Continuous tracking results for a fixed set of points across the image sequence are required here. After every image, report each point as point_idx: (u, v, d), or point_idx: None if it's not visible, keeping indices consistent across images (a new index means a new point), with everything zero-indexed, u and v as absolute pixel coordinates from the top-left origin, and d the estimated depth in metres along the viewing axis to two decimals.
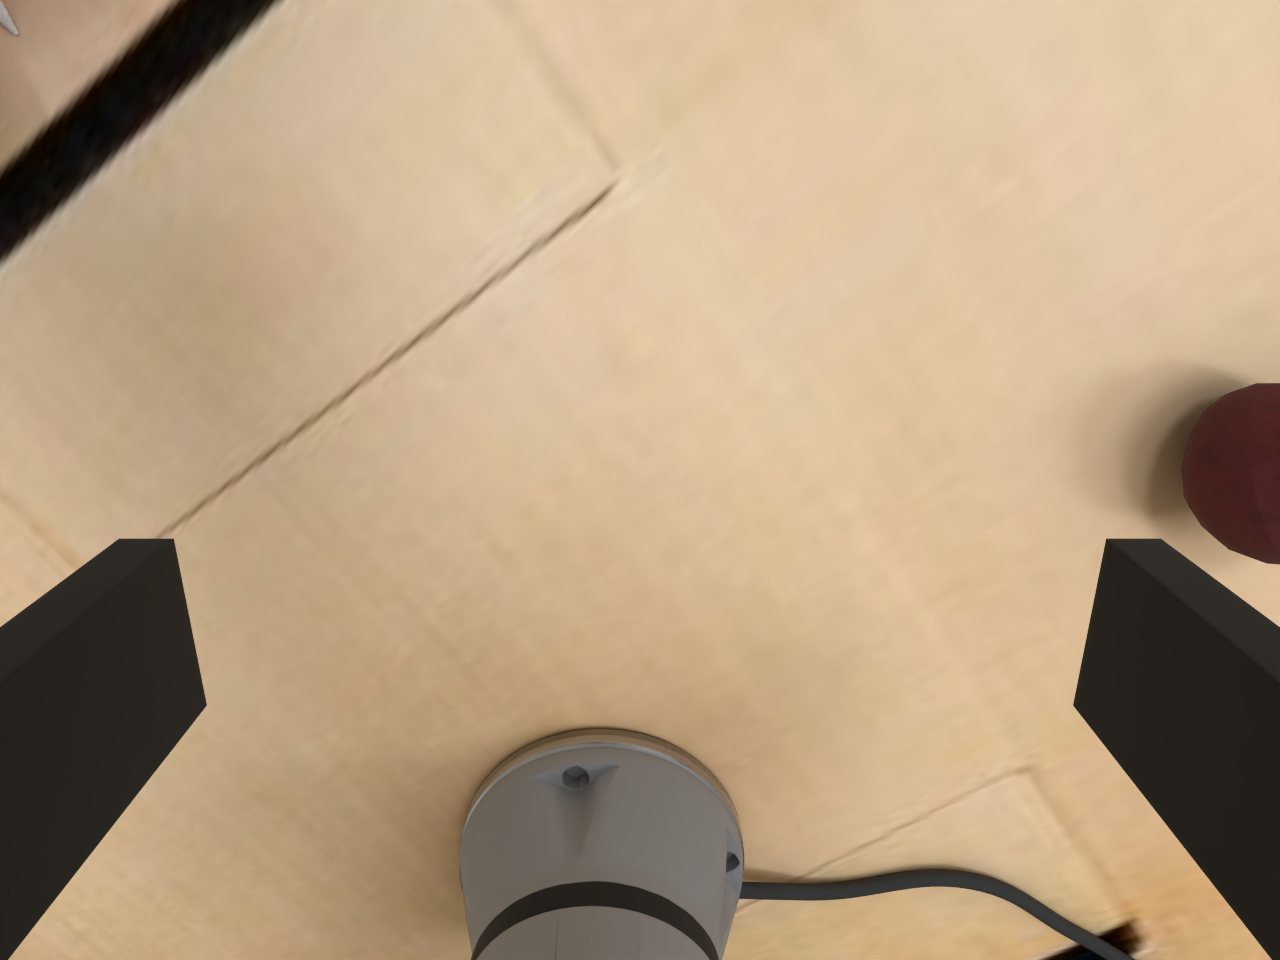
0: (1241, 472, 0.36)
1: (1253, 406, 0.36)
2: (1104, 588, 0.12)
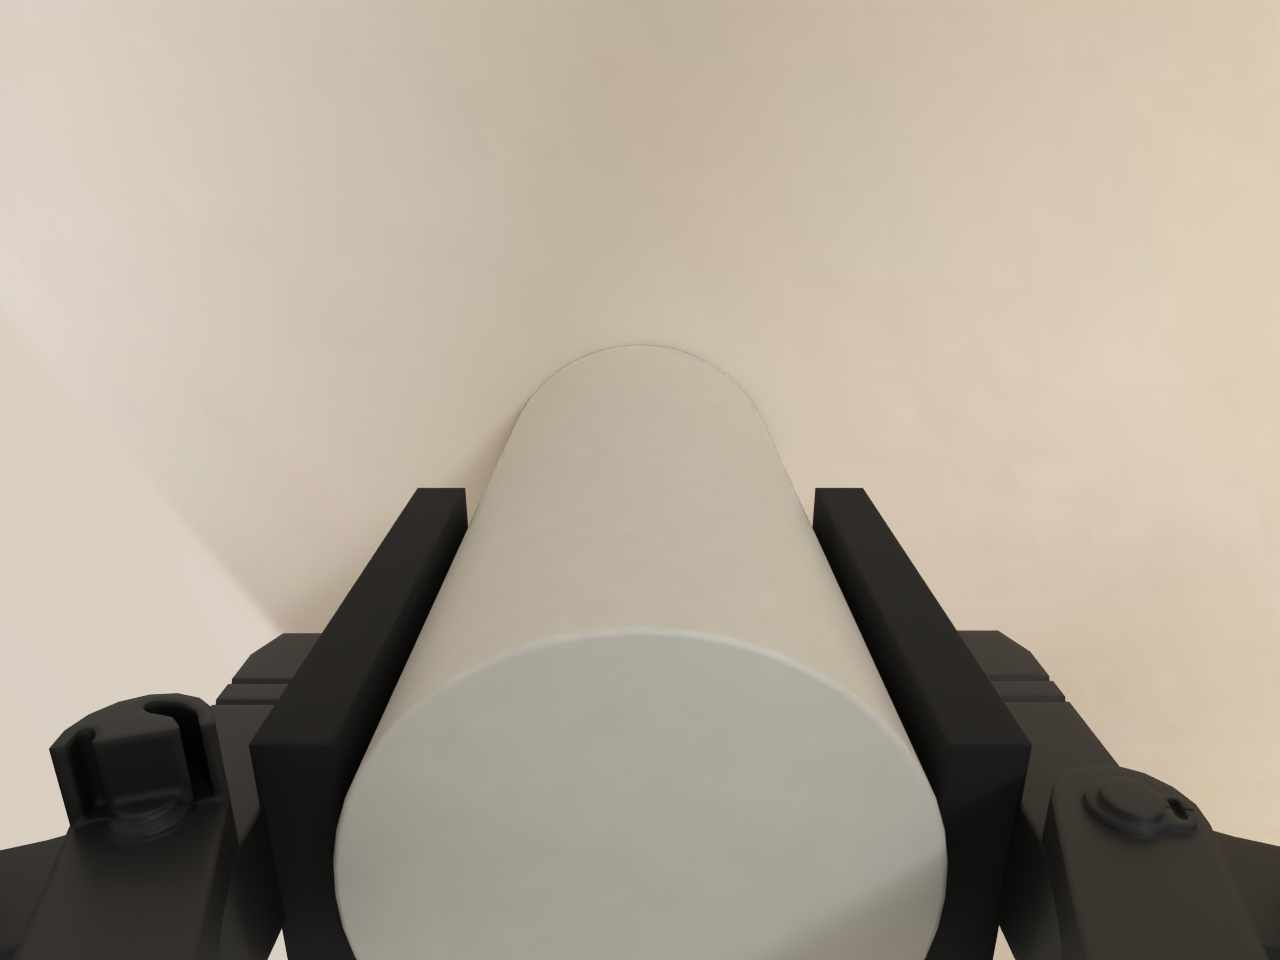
0: None
1: None
2: (814, 531, 0.14)
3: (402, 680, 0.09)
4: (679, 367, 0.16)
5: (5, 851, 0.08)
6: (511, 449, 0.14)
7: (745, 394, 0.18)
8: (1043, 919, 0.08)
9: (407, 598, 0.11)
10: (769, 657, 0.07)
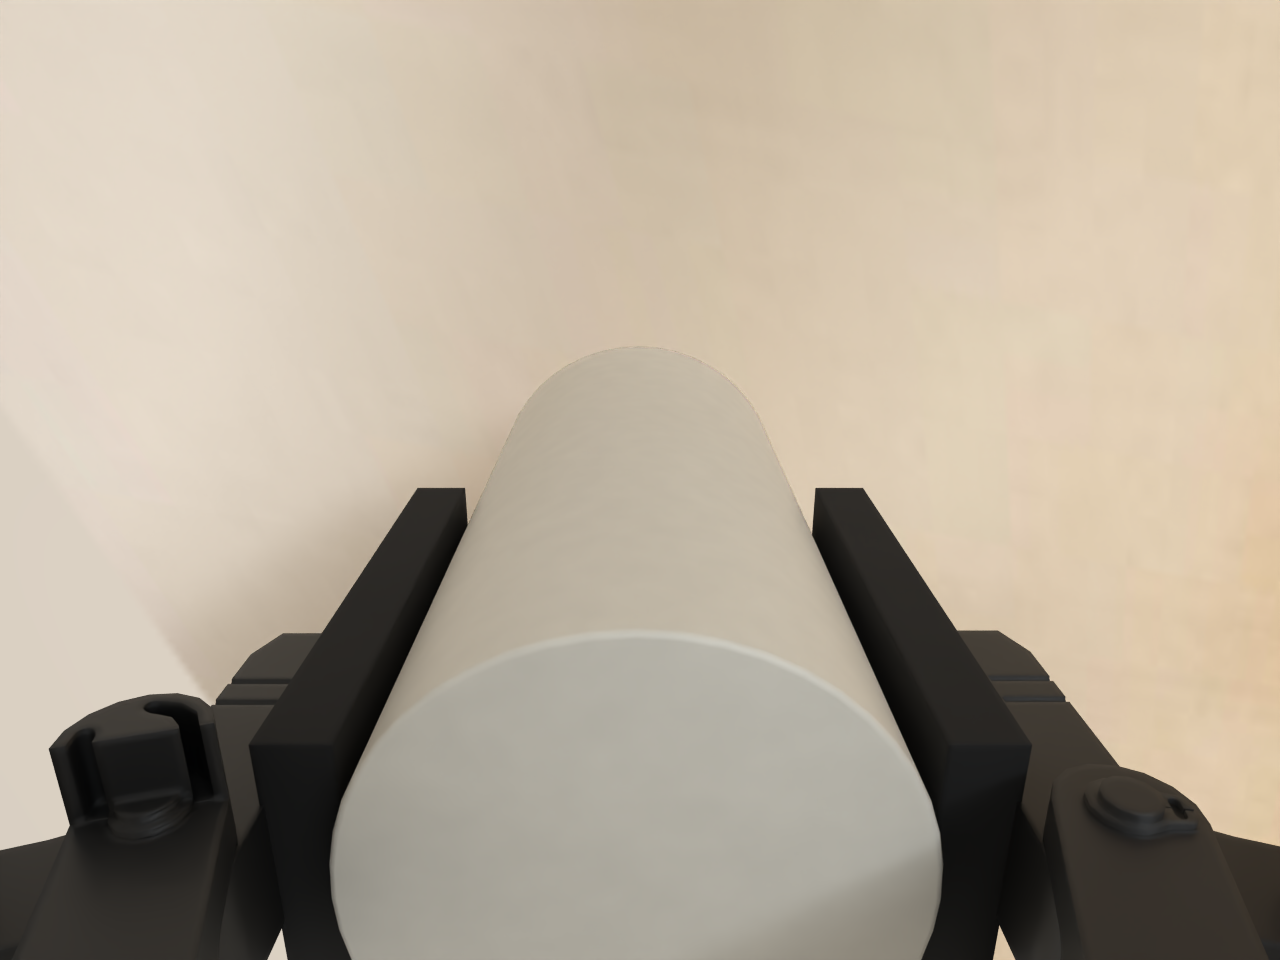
0: None
1: None
2: (815, 531, 0.14)
3: (399, 682, 0.09)
4: (677, 369, 0.16)
5: (5, 851, 0.08)
6: (509, 451, 0.14)
7: (743, 396, 0.18)
8: (1043, 919, 0.08)
9: (407, 598, 0.11)
10: (765, 660, 0.07)
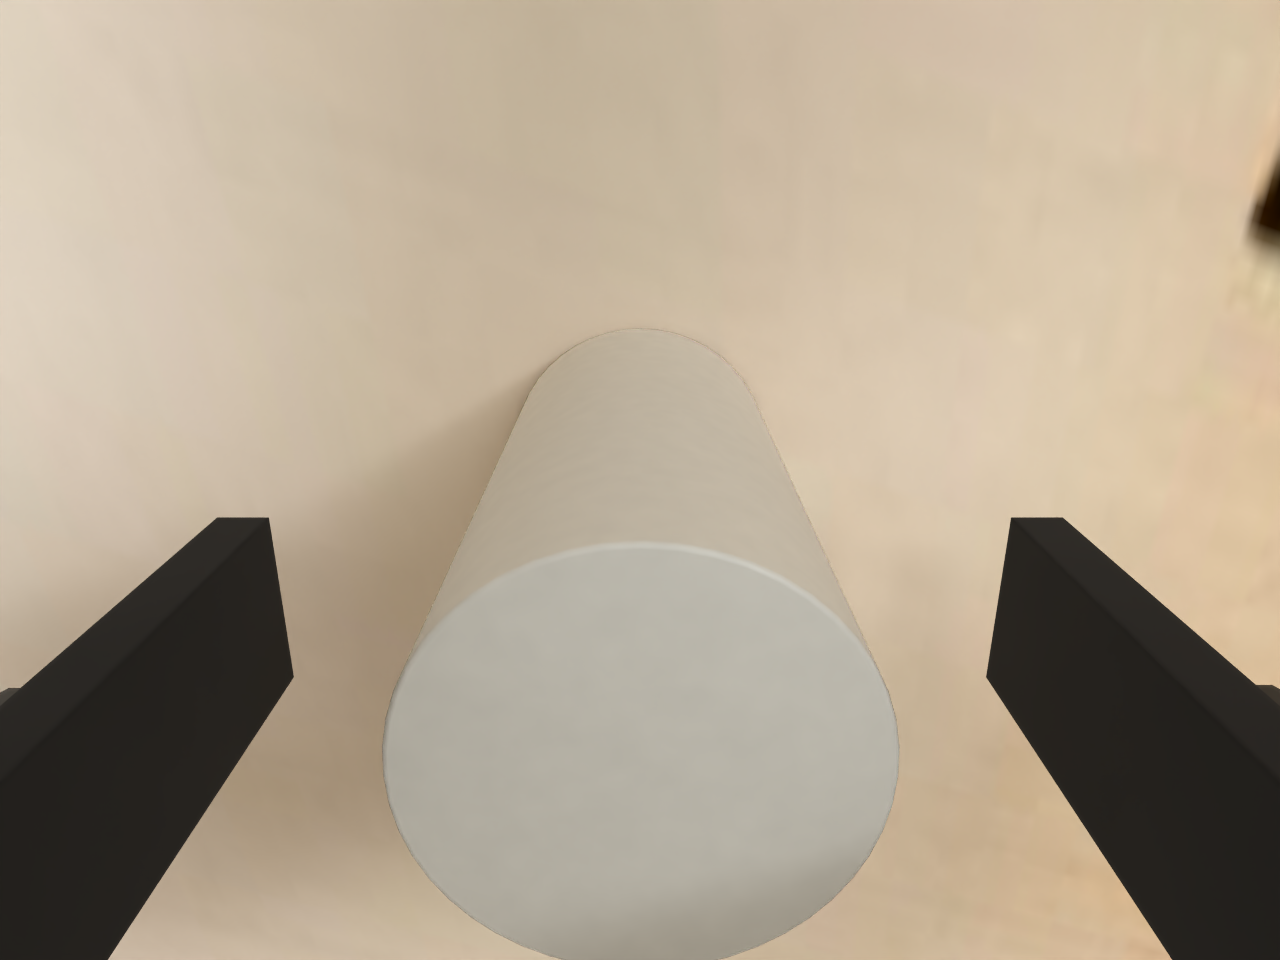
0: None
1: None
2: (1009, 564, 0.13)
3: (438, 598, 0.10)
4: (676, 347, 0.18)
5: None
6: (524, 419, 0.16)
7: (737, 374, 0.19)
8: None
9: (131, 652, 0.09)
10: (747, 566, 0.09)
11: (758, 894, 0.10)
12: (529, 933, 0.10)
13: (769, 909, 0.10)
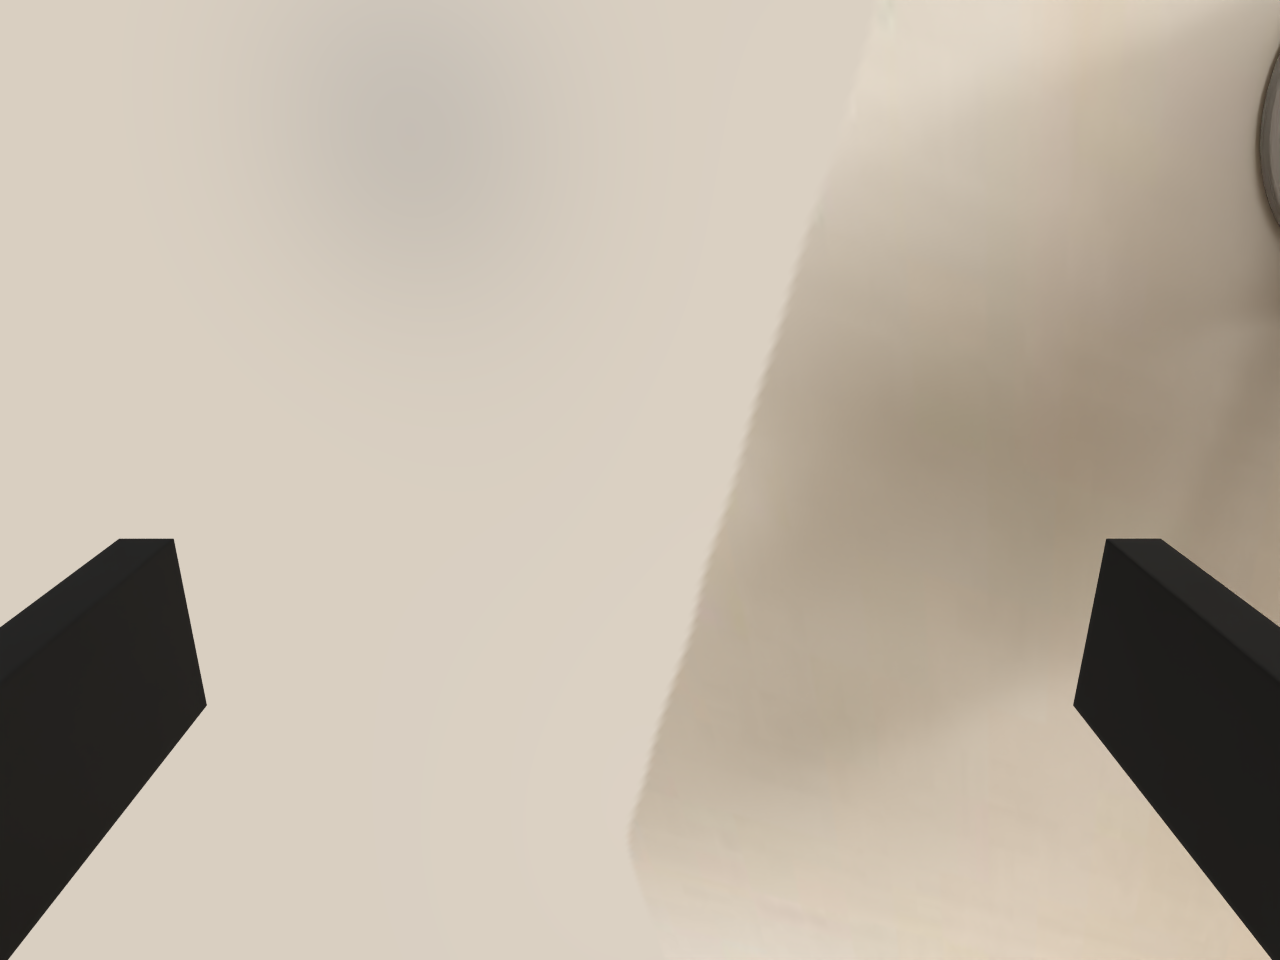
0: None
1: None
2: (1104, 588, 0.12)
3: None
4: None
5: None
6: None
7: None
8: None
9: None
10: None
11: None
12: None
13: None
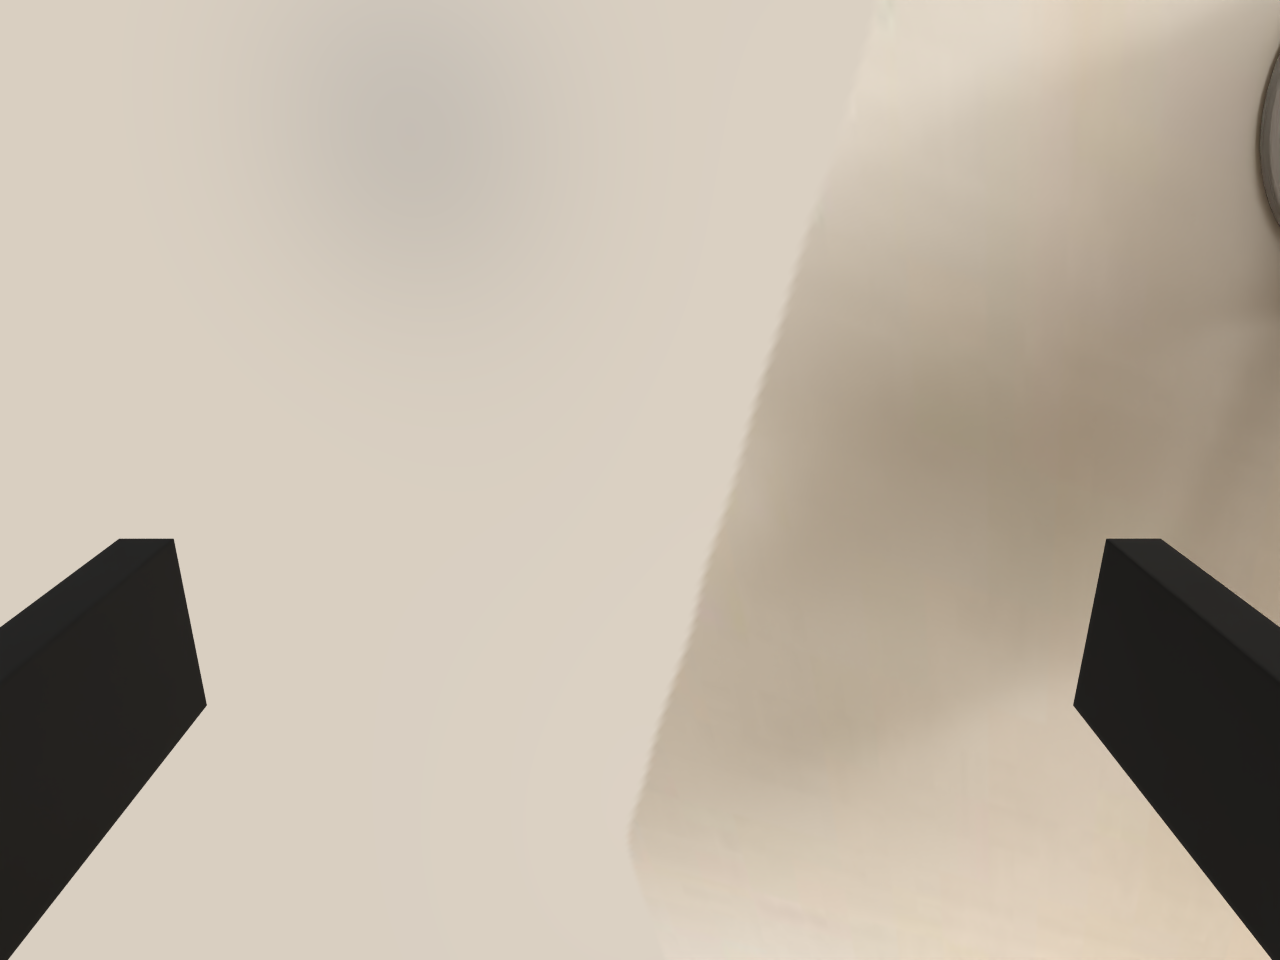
0: None
1: None
2: (1104, 588, 0.12)
3: None
4: None
5: None
6: None
7: None
8: None
9: None
10: None
11: None
12: None
13: None
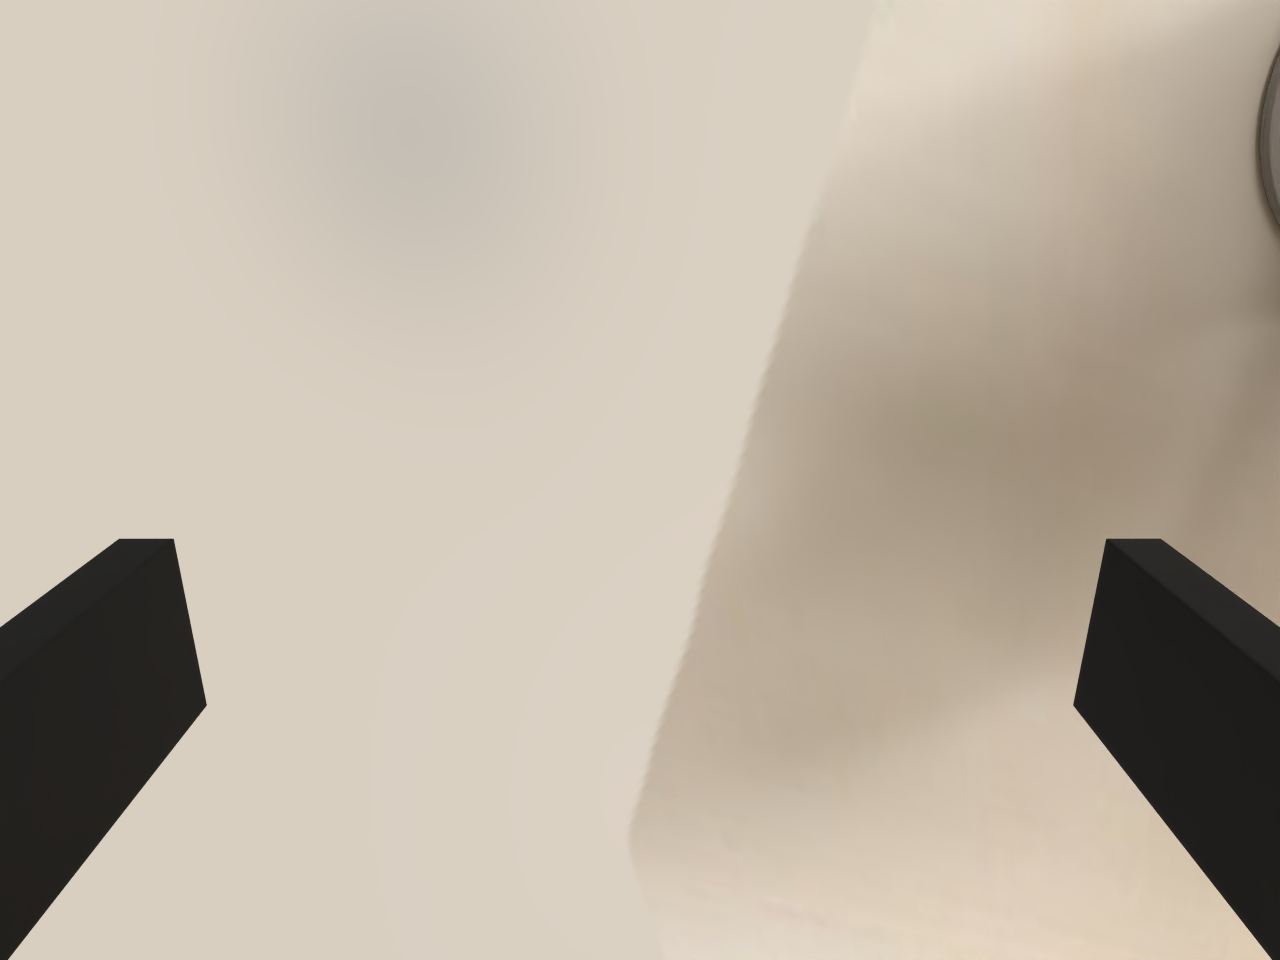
0: None
1: None
2: (1104, 588, 0.12)
3: None
4: None
5: None
6: None
7: None
8: None
9: None
10: None
11: None
12: None
13: None
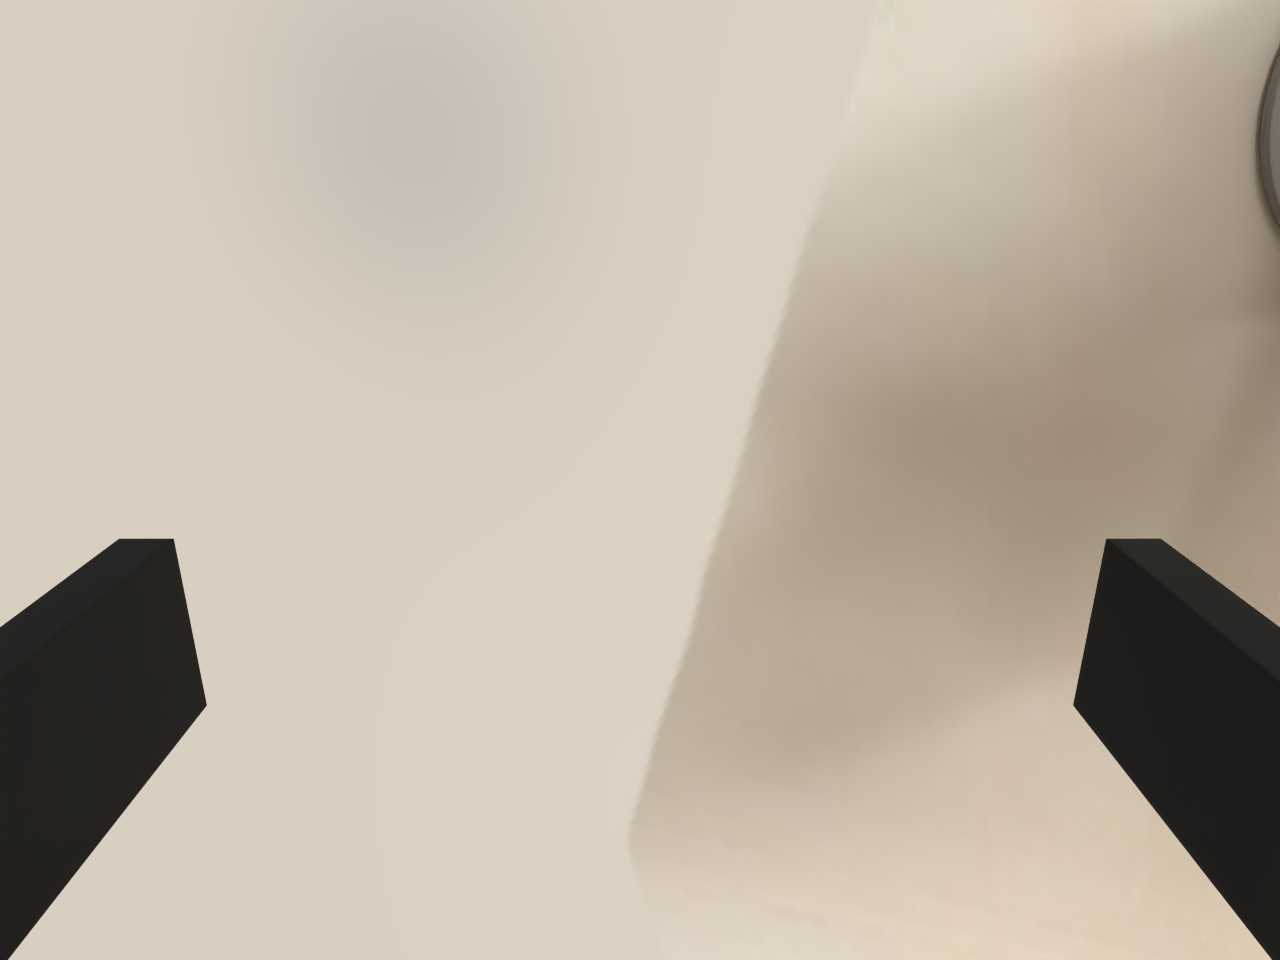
0: None
1: None
2: (1104, 588, 0.12)
3: None
4: None
5: None
6: None
7: None
8: None
9: None
10: None
11: None
12: None
13: None
